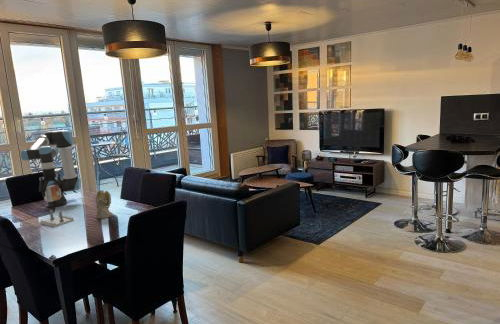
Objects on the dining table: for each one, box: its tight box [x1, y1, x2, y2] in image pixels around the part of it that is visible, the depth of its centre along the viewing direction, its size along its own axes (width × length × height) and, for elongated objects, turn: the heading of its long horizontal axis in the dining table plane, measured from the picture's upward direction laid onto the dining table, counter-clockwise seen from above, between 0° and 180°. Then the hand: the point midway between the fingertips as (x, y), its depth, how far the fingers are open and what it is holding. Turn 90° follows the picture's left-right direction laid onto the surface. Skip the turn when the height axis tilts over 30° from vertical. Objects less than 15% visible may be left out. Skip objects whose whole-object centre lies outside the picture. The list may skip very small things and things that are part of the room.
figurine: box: [95, 190, 113, 220], centre depth 252 cm, size 12×12×20 cm
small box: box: [45, 185, 61, 202], centre depth 244 cm, size 8×6×10 cm
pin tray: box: [40, 209, 74, 228], centre depth 247 cm, size 14×18×8 cm
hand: (53, 198), depth 245 cm, fingers closed on small box, 9 cm apart
